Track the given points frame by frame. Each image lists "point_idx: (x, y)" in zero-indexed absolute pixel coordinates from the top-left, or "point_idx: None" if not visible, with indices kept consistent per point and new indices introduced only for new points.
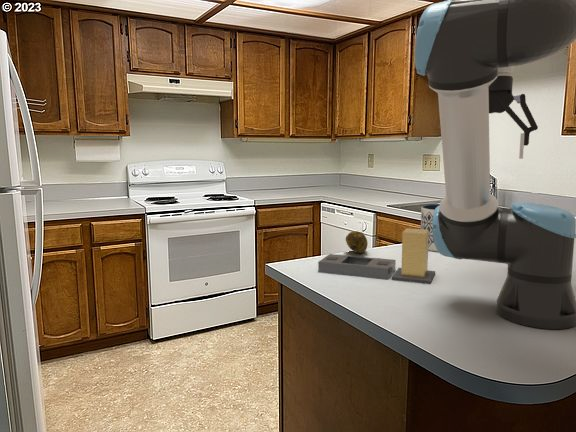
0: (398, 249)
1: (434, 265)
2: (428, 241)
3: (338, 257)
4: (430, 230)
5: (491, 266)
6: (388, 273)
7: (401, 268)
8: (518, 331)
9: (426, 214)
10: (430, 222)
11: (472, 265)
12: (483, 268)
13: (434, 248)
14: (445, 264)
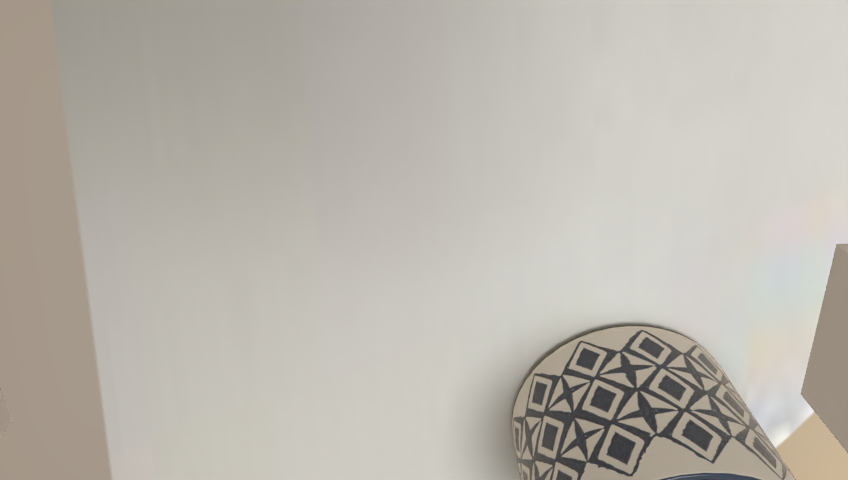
0: None
1: (656, 75)
2: (706, 362)
3: None
4: (722, 396)
5: (397, 164)
6: None
7: None
8: None
9: (787, 472)
10: (743, 427)
11: (480, 148)
12: (429, 112)
13: (665, 334)
14: (604, 116)
